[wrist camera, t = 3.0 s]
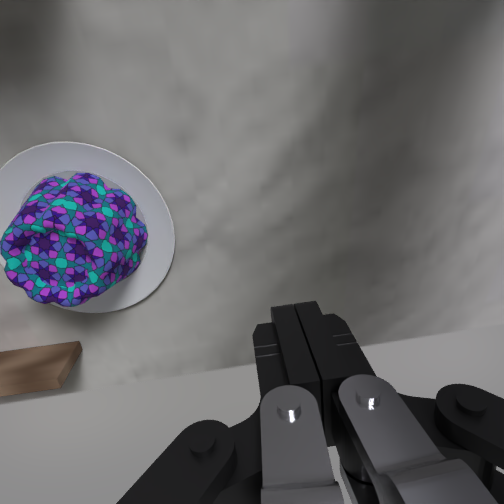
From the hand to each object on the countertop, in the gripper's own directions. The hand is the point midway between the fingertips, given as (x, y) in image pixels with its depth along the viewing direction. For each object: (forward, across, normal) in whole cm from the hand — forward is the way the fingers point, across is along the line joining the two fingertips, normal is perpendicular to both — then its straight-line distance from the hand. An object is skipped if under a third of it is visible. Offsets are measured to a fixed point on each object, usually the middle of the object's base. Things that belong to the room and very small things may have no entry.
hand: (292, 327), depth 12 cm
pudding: (+14, +12, 0) cm, 18 cm away
